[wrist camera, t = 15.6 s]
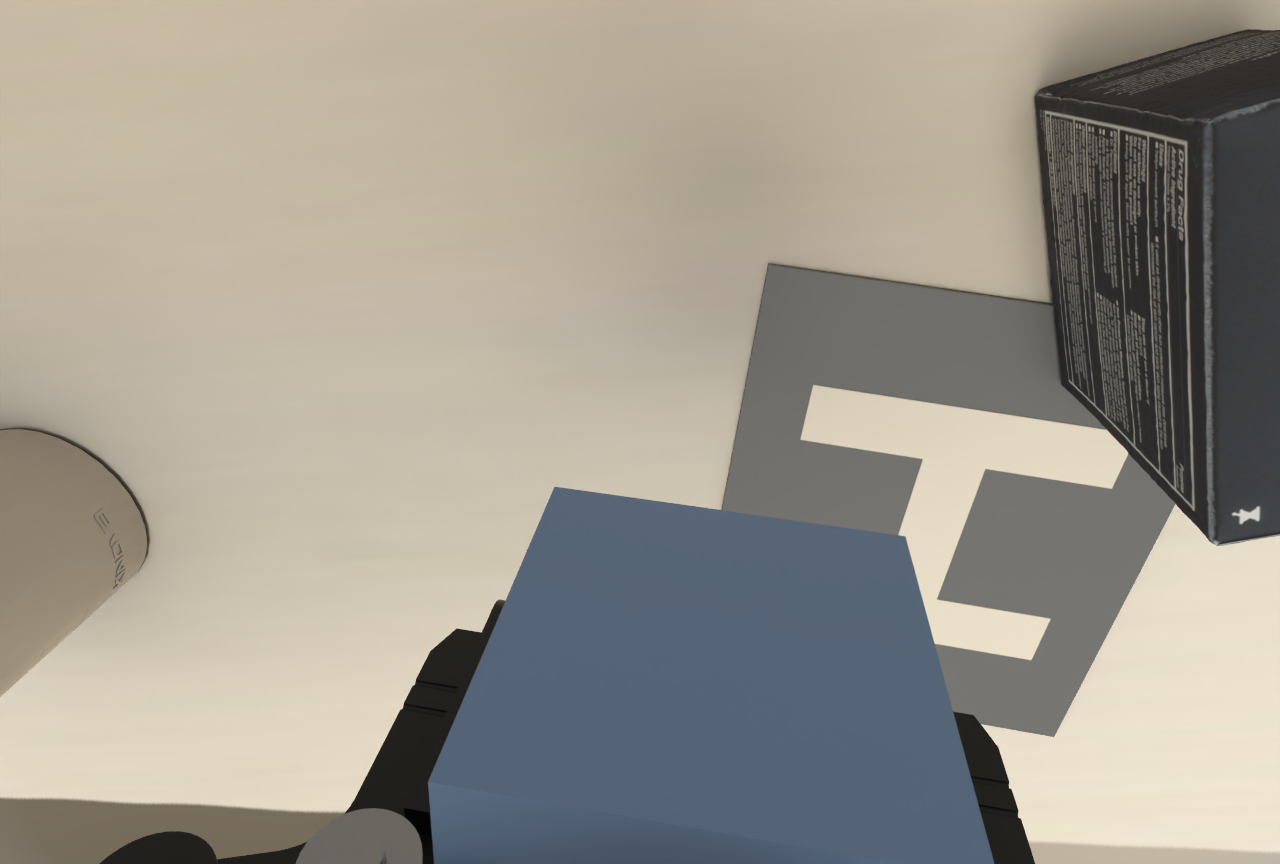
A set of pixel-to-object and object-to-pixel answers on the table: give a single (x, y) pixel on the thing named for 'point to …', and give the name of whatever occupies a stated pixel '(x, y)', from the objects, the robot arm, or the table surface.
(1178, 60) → the small box
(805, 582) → the blue cube
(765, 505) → the letter board
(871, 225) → the table surface
